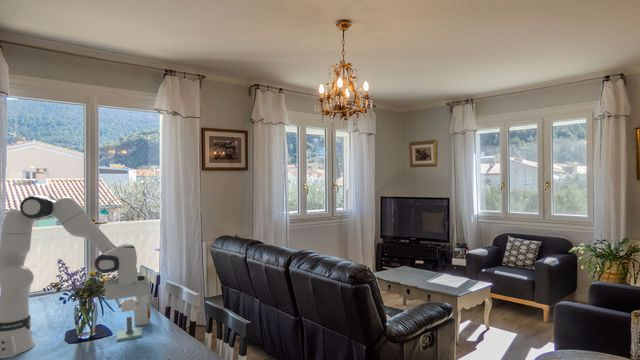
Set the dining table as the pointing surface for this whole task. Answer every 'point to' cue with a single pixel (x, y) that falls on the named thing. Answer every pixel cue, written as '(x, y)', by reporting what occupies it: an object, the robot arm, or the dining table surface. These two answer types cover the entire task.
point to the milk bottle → (142, 311)
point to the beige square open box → (128, 304)
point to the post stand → (129, 332)
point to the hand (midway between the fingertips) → (128, 305)
